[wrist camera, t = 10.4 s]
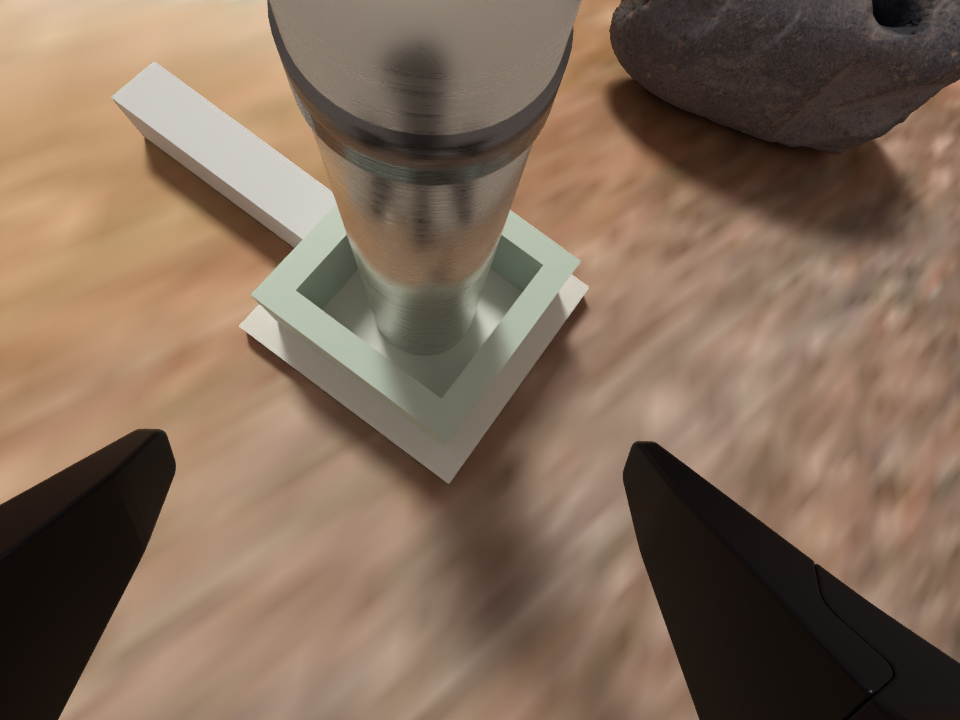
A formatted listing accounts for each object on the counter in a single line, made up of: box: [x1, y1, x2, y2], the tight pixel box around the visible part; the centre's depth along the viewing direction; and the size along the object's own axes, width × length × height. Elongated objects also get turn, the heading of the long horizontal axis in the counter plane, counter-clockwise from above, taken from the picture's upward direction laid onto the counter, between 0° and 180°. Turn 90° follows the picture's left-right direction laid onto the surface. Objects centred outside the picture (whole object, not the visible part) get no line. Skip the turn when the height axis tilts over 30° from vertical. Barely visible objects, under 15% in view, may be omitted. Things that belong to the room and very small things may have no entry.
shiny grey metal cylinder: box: [267, 0, 581, 356], centre depth 12 cm, size 4×4×14 cm
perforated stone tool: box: [609, 0, 960, 154], centre depth 21 cm, size 15×5×7 cm, turn 75°
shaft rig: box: [111, 61, 589, 484], centre depth 19 cm, size 19×18×4 cm
